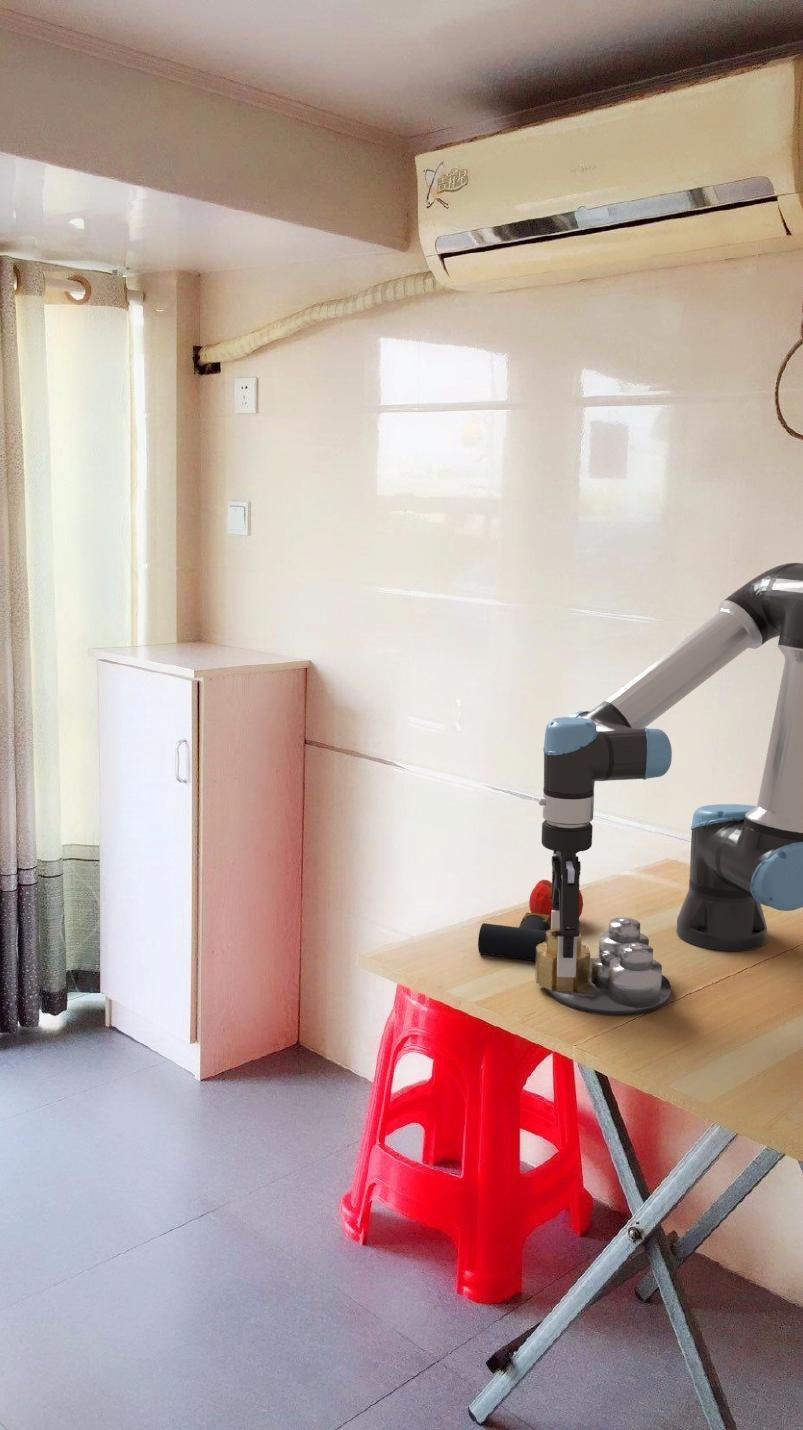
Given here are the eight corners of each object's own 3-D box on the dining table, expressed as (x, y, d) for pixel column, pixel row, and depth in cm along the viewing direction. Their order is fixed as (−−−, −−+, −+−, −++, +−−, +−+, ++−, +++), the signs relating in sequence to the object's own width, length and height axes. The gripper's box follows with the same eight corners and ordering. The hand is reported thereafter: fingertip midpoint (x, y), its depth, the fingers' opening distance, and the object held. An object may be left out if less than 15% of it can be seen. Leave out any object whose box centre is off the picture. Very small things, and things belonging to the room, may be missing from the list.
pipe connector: (495, 905, 201) (582, 915, 196) (495, 934, 202) (581, 945, 197) (478, 928, 190) (569, 940, 186) (477, 959, 191) (568, 971, 187)
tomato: (524, 928, 204) (525, 887, 203) (535, 912, 213) (536, 872, 211) (577, 934, 202) (579, 893, 200) (586, 918, 210) (587, 878, 209)
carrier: (658, 966, 188) (660, 911, 186) (682, 1017, 169) (685, 956, 167) (540, 964, 188) (541, 909, 186) (551, 1014, 169) (553, 953, 168)
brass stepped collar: (584, 971, 182) (586, 925, 181) (591, 992, 174) (593, 944, 173) (533, 970, 183) (535, 924, 181) (538, 990, 175) (539, 943, 173)
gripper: (536, 802, 185) (532, 936, 189) (549, 841, 163) (544, 992, 167) (583, 803, 185) (578, 937, 189) (602, 842, 163) (596, 993, 167)
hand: (562, 963), depth 178 cm, fingers open, 9 cm apart
